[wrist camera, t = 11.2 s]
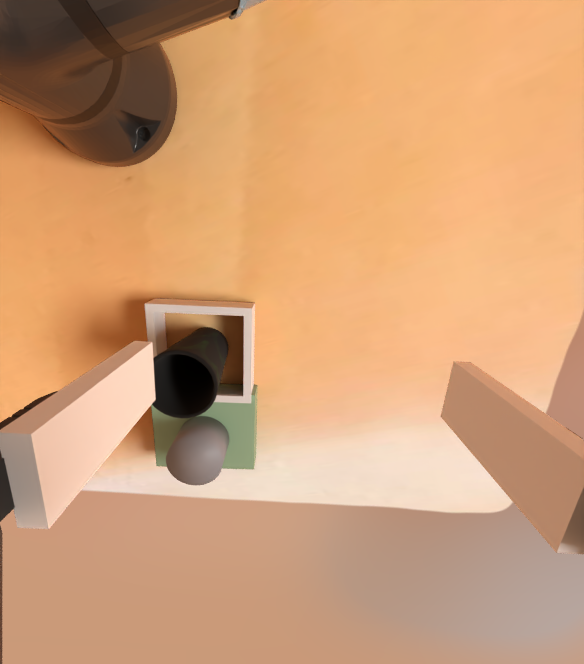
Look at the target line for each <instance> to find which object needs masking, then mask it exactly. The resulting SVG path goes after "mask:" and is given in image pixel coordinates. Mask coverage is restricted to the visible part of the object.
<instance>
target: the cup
mask: <svg viewBox="0 0 584 664" xmlns="http://www.w3.org/2000/svg"><path fill="white" fill-rule="evenodd" d="M227 354H228V342H227V340H226V338H225V336H224V335H223V334H222V333H221V332H219V331H218V330H216V329H213V328H201V329H198V330H197V331H195V332H193V333H192V334H190V335H189V336H187V337H185V338H184V339H182V340H181V341H179V342H178V343H176V344H174V345H173V346H171V347H170V348H168V349H166V350H165V351H163V352H162V353H160V354H158V355H157V356H155V357H154V358H153V363H154V381H155V398H156V400H155V401H154V402H153V403H152V405H153V406H154V407H155V408H156V409H157V410H159V411H160V412H162V413H163V414H165V415H168V416H171V417H174V418H181V419H183V418H192V417H196V416H199V415H201V414H202V413H204V412H206V411H207V410H208V409H209V408H210V407H211V406H212V404H213V403H214V401H215V399H216V396H217V392H218V388H219V384H220V380H221V377H222V373H223V369H224V365H225V361H226V357H227Z"/></svg>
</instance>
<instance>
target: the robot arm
mask: <svg viewBox="0 0 584 664" xmlns="http://www.w3.org/2000/svg"><path fill="white" fill-rule="evenodd" d="M264 1H266V0H0V100H1V101H3V102H5V103H7V104H9V105H12V106H14V107H16V108H18V109H20V110H23V111H25V112H27V113H29V114H32V115H33V116H34V117H35V118H36V119H37V120H38V121H39V122H41V123H42V125H43V126H44V127H45V128H46V130H47V131H48V132H49V133H50V134H51V135H52V136H53V137H54V138H55V139H56V140H57V141H58V142H59V143H61V144H62V145H63V146H65V147H66V148H68V149H69V150H70V151H72V152H74V153H75V154H77V155H79V156H81V157H84V158H86V159H89V160H91V161H94V162H96V163H99V164H103V165H107V166H115V167H122V166H130V165H134V164H137V163H140V162H142V161H144V160H146V159H148V158H149V157H151V156H152V155H153V154H154V153H156V152H157V151H158V150H159V149H160V147H161V146H162V145H163V144H164V142H165V141H166V139H167V137H168V136H169V134H170V131H171V129H172V126H173V123H174V120H175V115H176V108H177V90H176V83H175V78H174V74H173V70H172V67H171V64H170V62H169V60H168V57H167V55H166V53H165V51H164V50H163V48H162V46H161V45H160V42H163V41H166V40H168V39H171V38H174V37H176V36H179V35H182V34H184V33H187V32H190V31H192V30H195V29H198V28H200V27H203V26H206V25H209V24H211V23H214V22H217V21H219V20H222V19H225V18H227V17H229V18H230V19H231V20H232V19H235V18H237V17H239V16H240V15H241V14H242V12H243V10H246V9H248V8H250V7H252V6H255V5H257V4H259V3H261V2H264ZM155 400H156V398H155V381H154V363H153V345H152V342H146V341H133V342H132V343H130V344H128V345H127V346H125V347H124V348H122V349H121V350H119V351H118V352H116V353H115V354H113V355H112V356H110V357H109V358H107V359H106V360H104V361H103V362H101V363H100V364H98V365H97V366H95V367H94V368H92V369H91V370H89V371H88V372H86V373H85V374H83V375H82V376H80V377H79V378H77V379H76V380H74V381H73V382H71V383H70V384H68V385H67V386H65V387H64V388H62V389H61V390H59V391H56V392H53V393H51V394H48V395H46V396H43V397H41V398H38V399H36V400H35V401H33V402H32V403H30V404H29V405H27V406H26V407H24V409H21V410H19V411H18V412H16V413H15V414H13V415H12V417H8V418H7V419H5V420H4V421H2V422H1V423H0V521H1V520H2V519H3V518H4V517H5V516H6V515H7V514H8V513H10V512H11V510H13V509H14V514H15V518H16V522H17V527H18V528H36V529H49V528H50V527H51V526H52V524H53V523H54V522H55V521H56V520H57V519H58V517H59V516H60V515H61V514H62V513H63V511H64V510H65V509H66V508H67V506H68V505H69V504H70V503H71V502H72V500H73V499H74V498H75V497H76V496H77V494H78V493H79V492H80V491H81V489H82V488H83V487H84V486H85V485H86V483H87V482H88V481H89V480H90V479H91V477H92V476H93V475H94V474H95V472H96V471H97V470H98V469H99V468H100V466H101V465H102V464H103V463H104V462H105V460H106V459H107V458H108V457H109V455H110V454H111V453H112V452H113V451H114V449H115V448H116V447H117V446H118V445H119V443H120V442H121V441H122V440H123V438H124V437H125V436H126V435H127V434H128V432H129V431H130V430H131V429H132V428H133V426H134V425H135V424H136V423H137V422H138V420H139V419H140V418H141V417H142V415H143V414H144V413H145V412H146V411H147V409H148V408H149V407H150V406H151V405H152V403H153V402H154V401H155ZM441 417H442V419H443V420H444V421H445V422H446V423H447V424H448V426H449V427H450V428H451V429H452V430H453V432H454V433H455V434H456V435H457V436H458V437H459V439H460V440H461V441H462V442H463V443H464V444H465V446H466V447H467V448H468V449H469V450H470V452H471V453H472V454H473V455H474V456H475V457H476V459H477V460H478V461H479V462H480V463H481V464H482V466H483V467H484V468H485V469H486V470H487V472H488V473H489V474H490V475H491V476H492V477H493V479H494V480H495V481H496V482H497V483H498V484H499V486H500V487H501V488H502V489H503V490H504V492H505V493H506V494H507V495H508V496H509V497H510V499H511V500H512V501H513V502H514V503H515V504H516V506H517V507H518V508H519V509H520V510H521V512H522V513H523V514H524V515H525V516H526V517H527V518H528V520H529V521H530V522H531V523H532V524H533V526H534V527H535V528H536V529H537V530H538V532H539V533H540V534H541V535H542V536H543V537H544V538H545V540H546V541H547V542H548V543H549V544H550V546H551V547H552V548H553V549H554V550H555V552H556V553H571V554H584V440H583V439H582V438H581V437H579V436H578V435H577V434H575V433H574V432H572V431H571V430H569V429H567V428H566V427H564V426H563V425H561V424H560V423H558V422H557V421H555V420H554V419H552V418H551V417H549V416H548V415H546V414H545V413H544V412H542V411H541V410H539V409H538V408H536V407H535V406H533V405H532V404H530V403H529V402H528V401H526V400H525V399H523V398H522V397H520V396H519V395H517V394H516V393H514V392H513V391H512V390H510V389H509V388H507V387H506V386H504V385H503V384H501V383H500V382H498V381H497V380H495V379H494V378H493V377H491V376H490V375H488V374H487V373H485V372H484V371H482V370H481V369H479V368H478V367H477V366H475V365H474V364H472V363H471V362H455V361H454V362H453V366H452V370H451V375H450V379H449V383H448V387H447V392H446V396H445V400H444V405H443V409H442V413H441ZM0 664H2V530H1V526H0Z"/></svg>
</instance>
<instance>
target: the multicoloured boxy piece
mask: <svg viewBox="0 0 584 664" xmlns="http://www.w3.org/2000/svg"><path fill="white" fill-rule="evenodd" d="M165 313H188V314H210V315H233V316H244V377H243V385H242V384H219V388H218V392H217V396H216V399H215V401H214V403H213V404H212V406H211V407H210V408H209V409H208V410H207V411H206V412H204V413H202V414H201V415H199V416H196V417H192V418H183V419H181V418H174V417H171V416H168V415H165V414H163V413H162V412H160V411H159V410H157V409H156V408H155V407H154V406H153V405H151V408H152V419H153V430H154V442H155V453H156V464H157V466H167V468H168V470H169V471H170V473H171V474H172V475H173V476H174V477H175V478H176V479H177V480H179V481H181V482H183V483H186V484H189V485H203V484H207V483H209V482H211V481H213V480H214V479H215V478H216V477H217V476H218V475H219V473H220V472H221V469H222V468H227V469H254V465H255V458H256V423H257V385H254V335H255V303H250V302H228V301H206V300H184V299H162V298H155V299H153V300H151V301H149V302H147V303H145V315H146V327H147V338H148V342H152V345H153V358H154V357H155V356H157V355H158V354H160V353H162V352H163V351H165V350H166V349H167V338H166V324H165Z"/></svg>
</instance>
